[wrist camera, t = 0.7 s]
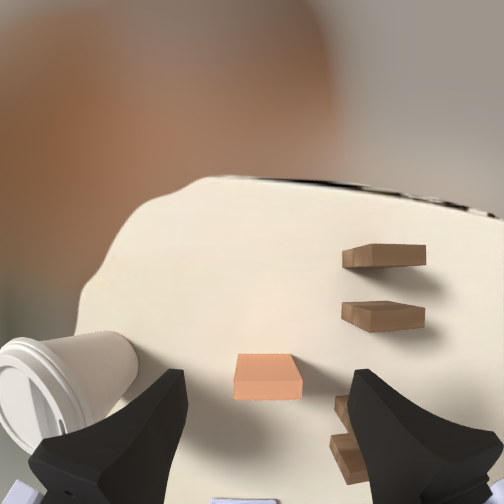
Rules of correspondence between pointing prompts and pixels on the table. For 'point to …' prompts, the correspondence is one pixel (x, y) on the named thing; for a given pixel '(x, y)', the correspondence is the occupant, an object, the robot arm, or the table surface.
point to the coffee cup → (62, 384)
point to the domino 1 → (267, 377)
